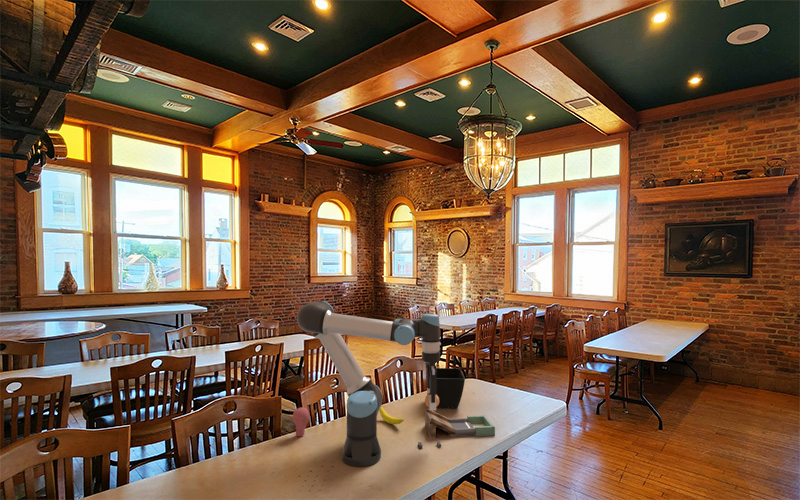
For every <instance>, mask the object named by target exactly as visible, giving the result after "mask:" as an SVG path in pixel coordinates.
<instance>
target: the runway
mask: <svg viewBox="0 0 800 500" xmlns="http://www.w3.org/2000/svg"><path fill="white" fill-rule="evenodd" d="M449 419H450V420H449V422H450V424H451V426H452V427H453V428H455V429H456V430H455V432H456V433H455V436H454V437H466V436H467V437H469V436H476V435H475V428H474V427H473V426H472V424H471V423H470V419H468V418H467V417H460V418H449Z"/></svg>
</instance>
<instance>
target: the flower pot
mask: <svg viewBox="0 0 800 500" xmlns="http://www.w3.org/2000/svg"><path fill="white" fill-rule="evenodd" d="M436 368H437V394H436V395H437V396H438V397H439V404H438V406H437V407H436V409H458V408H459V406H460V404H461V400H462V396H463V392H464V389H465V388H464V386H465V381H466V378H465V376H464V374H463V372H462V370H461V368H459V367H458V368H453V367H448V368H447V367H436Z"/></svg>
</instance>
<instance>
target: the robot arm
mask: <svg viewBox="0 0 800 500" xmlns="http://www.w3.org/2000/svg"><path fill="white" fill-rule="evenodd" d="M296 322H297V325H298V327H299V328H300V329H301V330H302V331H304V332H306V333H311V335H312V336H313V338H315V339H318V340H320V343H321V344H322V346H323V348H324V349H325V351H326V353H327V354H328V356H329V358H330V360H331V361H332V362H331V363H333V365H334V367H335V369H336V370H337V372H338V373H339V376H340V377H341V379H342V381H343V382H344V384H345V386H346V388H347V391H346V395H347V397H348V398H347V401H346V438H345V441H344V444H343V447H342V450H341V460H342V461H343V463H344V464H346V465H348V466H351V467H360V468H361V467H362V468H363V467H368V466H372V465H374V464H376V463H378V462H380V460H381V458H382V449H381V446H380V443H379V439H378V435H377V433H378V431H377V427H378V426H377V423H378V420H377V419H378V414H379V413H380V411H379V409H380V407H382V406H383V405H382V404H383V392H382V390H381V388H380V387H379V386H378V385H376V384H374V383H373V380H372V379H371V377H368V376H365V374H364V373H363V370H362V369H361V367H360V365H359V363H358V362H357V360H356V358H355V357H354V355H353V354H352V352H351V350H350V349H349V347H348V345H347V343H346V342H345V339H344V338H343V336H342V335H346V336H355V337H361V338H368V339H376V340H381V341H387V342H393V343H394V342H395V343H397V344H398V345H401V346H408V345H409V344H411V343H412V342H413V340H414V339H415V338H421V351H422V352H421V356H422V357H421V360H422V361H423V362H425V368H426V369H425V371H426V372H425V375H426V376H425V377H426V381H425V384H426V396H427V395H429V407H428V409H429V410H430V411H431V410H432V411H437V408H436V394H437V368H438V367H437V365H436V363H439V362H440V361H441V352H440V351H441V350H440V349H441V348H440V346H441V345H442V343H441V341H440V340H441V338H440V337H441V335H440V334H441V333H440V331H441V329H440V327H441V326H440V325H441V324H440V323H441V322H440V316H439V315H438V314H436V313H423V314H422V315H421V318H417V319H416V318H396V319H394V321H389V320H383V319H376V318H368V317H362V316H355V315H349V314H341V313H335V310H334V308H333V306H332V305H331V304H330V303H328V302H327V301H323V300H315V301H312V302H310V303H307V304H304V305H303V306H301V307H300V308H299V309H298V311H297V314H296Z"/></svg>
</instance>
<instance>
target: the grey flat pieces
mask: <svg viewBox="0 0 800 500" xmlns="http://www.w3.org/2000/svg"><path fill="white" fill-rule="evenodd" d="M417 443H418V444H417V446H418V448H419V449H423V443H422V442H421V441H418V442H417ZM436 445H437V447H438V449H439V448H440V449H441V448H442V443H441V441H439V440H437V441H436Z"/></svg>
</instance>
